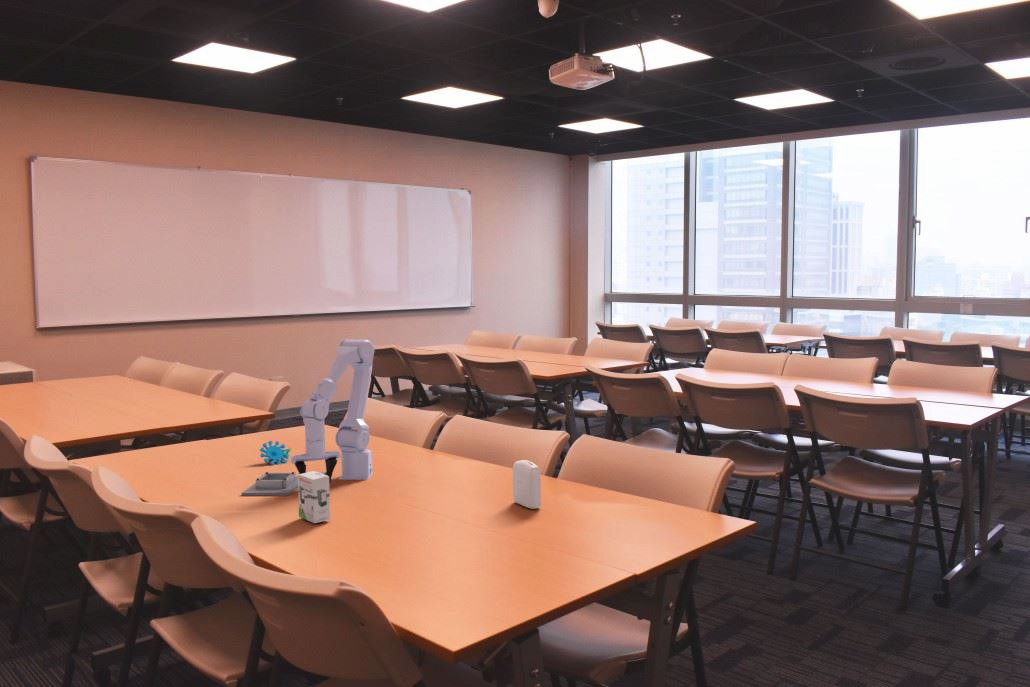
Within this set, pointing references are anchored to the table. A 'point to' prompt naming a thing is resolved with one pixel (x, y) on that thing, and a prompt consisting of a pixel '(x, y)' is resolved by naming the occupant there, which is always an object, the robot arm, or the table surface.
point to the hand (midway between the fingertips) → (316, 484)
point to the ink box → (314, 496)
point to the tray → (273, 485)
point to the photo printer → (526, 484)
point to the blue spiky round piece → (275, 453)
